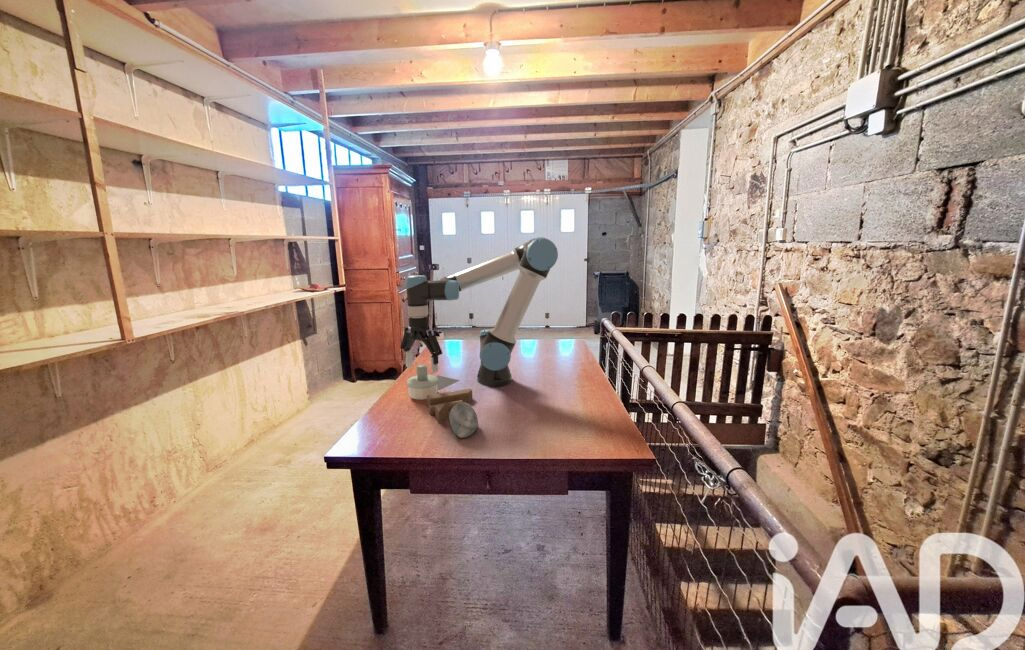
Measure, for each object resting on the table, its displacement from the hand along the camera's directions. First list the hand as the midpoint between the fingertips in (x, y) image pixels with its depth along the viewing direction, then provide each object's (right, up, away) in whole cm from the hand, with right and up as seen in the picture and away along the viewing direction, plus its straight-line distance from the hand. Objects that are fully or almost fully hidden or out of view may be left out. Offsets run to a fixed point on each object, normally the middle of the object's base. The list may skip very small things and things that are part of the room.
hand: (421, 369), depth 152 cm
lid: (0, -6, +1) cm, 6 cm away
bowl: (0, -10, +2) cm, 11 cm away
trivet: (+4, -8, +15) cm, 17 cm away
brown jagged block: (+15, -14, -12) cm, 24 cm away
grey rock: (+20, -17, -27) cm, 38 cm away
